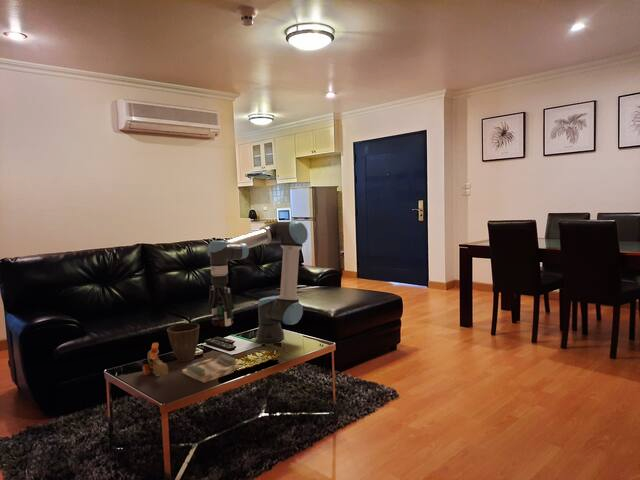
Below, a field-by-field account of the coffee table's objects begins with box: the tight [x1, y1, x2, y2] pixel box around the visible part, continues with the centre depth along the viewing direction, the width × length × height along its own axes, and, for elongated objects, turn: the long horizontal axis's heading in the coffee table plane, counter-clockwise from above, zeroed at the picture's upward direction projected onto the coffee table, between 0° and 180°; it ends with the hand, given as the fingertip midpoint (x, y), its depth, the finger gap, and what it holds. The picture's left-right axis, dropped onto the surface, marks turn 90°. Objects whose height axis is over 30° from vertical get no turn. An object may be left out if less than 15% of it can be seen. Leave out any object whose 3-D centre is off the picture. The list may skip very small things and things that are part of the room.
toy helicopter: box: [142, 342, 169, 378], centre depth 193 cm, size 8×21×14 cm, turn 39°
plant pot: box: [166, 322, 200, 363], centre depth 214 cm, size 15×15×16 cm
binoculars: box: [208, 300, 234, 328], centre depth 200 cm, size 9×11×10 cm
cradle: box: [181, 354, 242, 384], centre depth 198 cm, size 19×18×4 cm
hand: (221, 323), depth 200 cm, fingers closed on binoculars, 9 cm apart
